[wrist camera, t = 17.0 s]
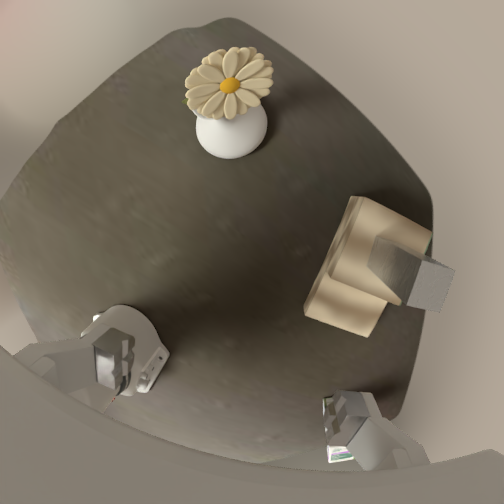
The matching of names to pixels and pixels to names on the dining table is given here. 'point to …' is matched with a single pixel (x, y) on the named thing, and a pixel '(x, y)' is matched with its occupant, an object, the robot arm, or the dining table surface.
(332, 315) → the step stand
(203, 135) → the flower in vase
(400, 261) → the grey column
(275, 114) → the dining table surface
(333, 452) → the syrup box
